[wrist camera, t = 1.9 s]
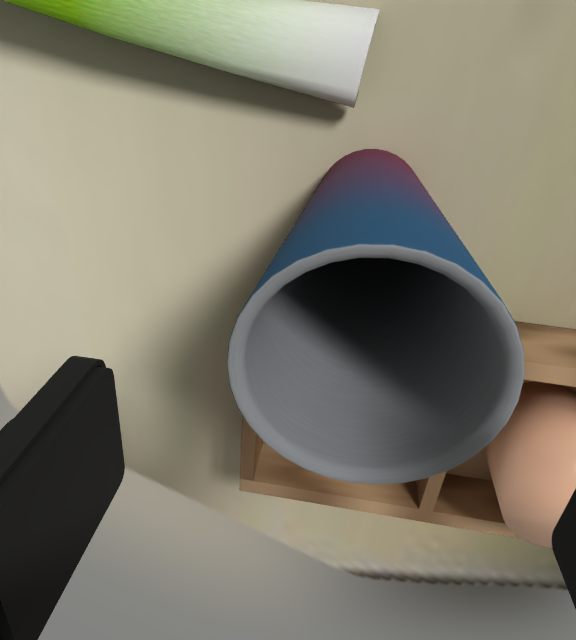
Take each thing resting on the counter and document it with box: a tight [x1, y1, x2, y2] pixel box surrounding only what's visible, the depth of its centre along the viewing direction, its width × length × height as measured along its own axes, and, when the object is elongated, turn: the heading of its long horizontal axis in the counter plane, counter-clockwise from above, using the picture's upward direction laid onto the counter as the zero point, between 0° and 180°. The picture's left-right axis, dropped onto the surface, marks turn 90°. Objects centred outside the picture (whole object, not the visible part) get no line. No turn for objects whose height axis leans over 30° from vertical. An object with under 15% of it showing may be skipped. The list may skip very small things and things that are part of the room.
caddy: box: [240, 321, 576, 538], centre depth 28 cm, size 22×12×4 cm, turn 86°
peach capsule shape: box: [483, 381, 576, 548], centre depth 26 cm, size 6×6×6 cm
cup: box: [227, 149, 524, 485], centre depth 18 cm, size 7×7×15 cm
